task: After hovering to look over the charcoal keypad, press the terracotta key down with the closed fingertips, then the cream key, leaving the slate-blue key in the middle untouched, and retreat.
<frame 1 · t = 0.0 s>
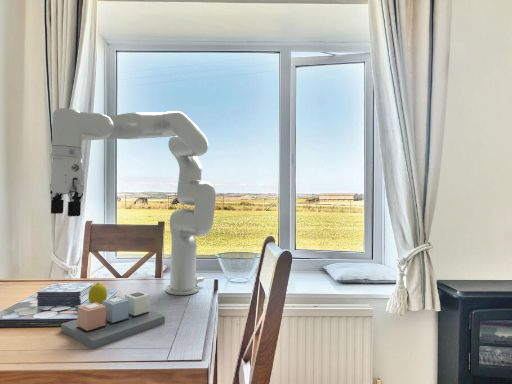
hand: (65, 214, 99), 31 cm above the table, fingers open, 9 cm apart
keypad board: (115, 326, 99), on the table
key terracotta: (91, 315, 94), point 5 cm above the table, slide at 0.0 cm
key cream: (137, 302, 105), point 5 cm above the table, slide at 0.0 cm
key slate: (115, 308, 99), point 5 cm above the table, slide at 0.0 cm
lemon: (97, 308, 114), on the table
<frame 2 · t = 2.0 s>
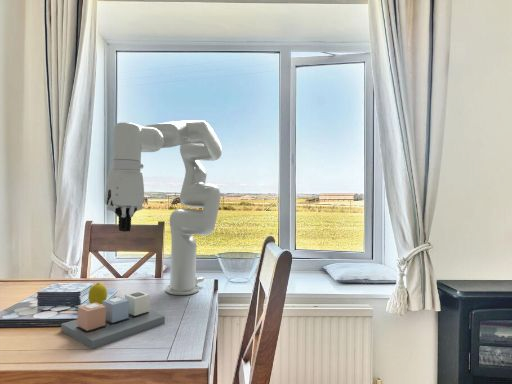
hand: (124, 230, 100), 27 cm above the table, fingers closed
nothing on the table moved.
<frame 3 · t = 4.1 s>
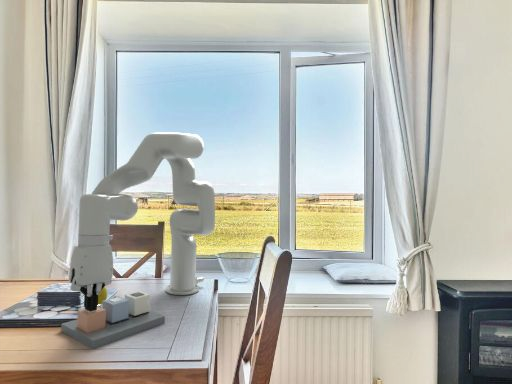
hand: (90, 309, 93), 7 cm above the table, fingers closed
key terracotta: (91, 318, 94), point 4 cm above the table, slide at 0.9 cm, touching gripper
everything else where it was.
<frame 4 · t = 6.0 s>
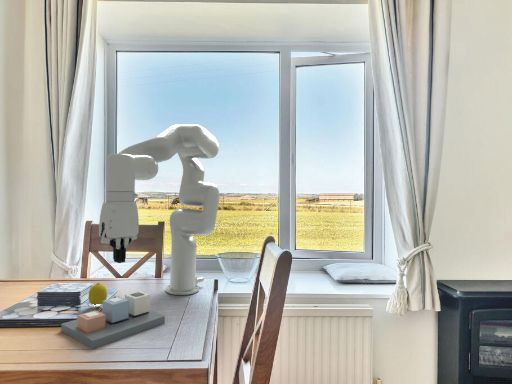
hand: (119, 261, 100), 18 cm above the table, fingers closed
key terracotta: (91, 323, 94), point 3 cm above the table, slide at 2.2 cm
everything else where it was.
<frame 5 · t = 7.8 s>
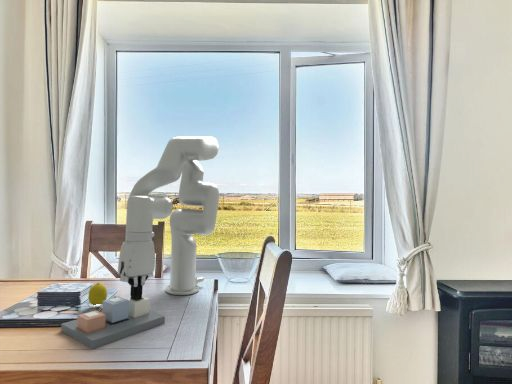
hand: (136, 298, 104), 7 cm above the table, fingers closed
key cream: (136, 306, 105), point 4 cm above the table, slide at 1.2 cm, touching gripper
everything else where it was.
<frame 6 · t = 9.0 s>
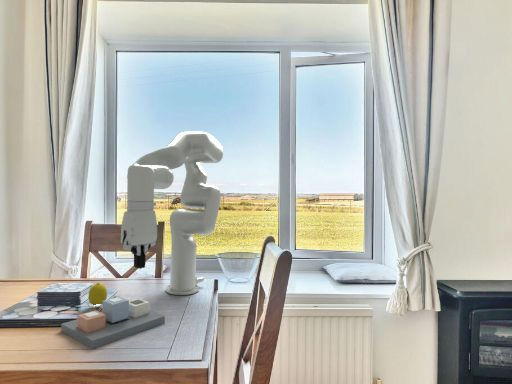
hand: (139, 267, 105), 16 cm above the table, fingers closed
key cream: (136, 310, 105), point 3 cm above the table, slide at 2.2 cm
everything else where it was.
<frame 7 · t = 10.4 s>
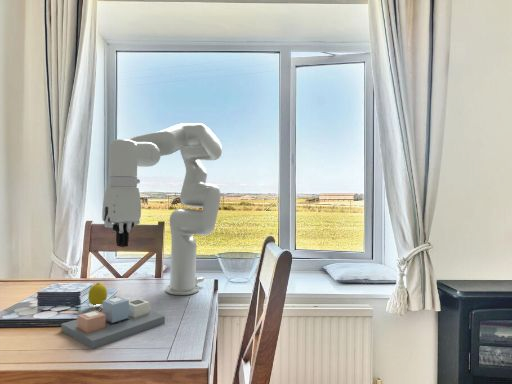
hand: (122, 246, 102), 22 cm above the table, fingers closed
nothing on the table moved.
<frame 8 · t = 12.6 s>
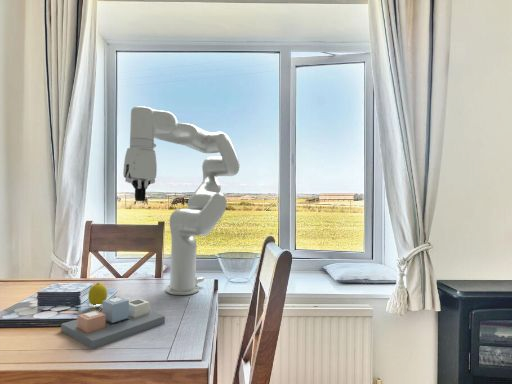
hand: (140, 200, 116), 35 cm above the table, fingers closed
nothing on the table moved.
at the end: key terracotta slide at 2.2 cm; key cream slide at 2.2 cm; key slate slide at 0.0 cm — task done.
